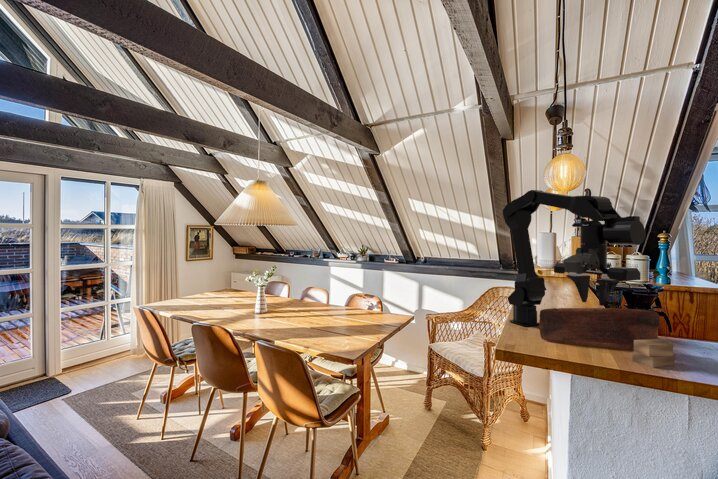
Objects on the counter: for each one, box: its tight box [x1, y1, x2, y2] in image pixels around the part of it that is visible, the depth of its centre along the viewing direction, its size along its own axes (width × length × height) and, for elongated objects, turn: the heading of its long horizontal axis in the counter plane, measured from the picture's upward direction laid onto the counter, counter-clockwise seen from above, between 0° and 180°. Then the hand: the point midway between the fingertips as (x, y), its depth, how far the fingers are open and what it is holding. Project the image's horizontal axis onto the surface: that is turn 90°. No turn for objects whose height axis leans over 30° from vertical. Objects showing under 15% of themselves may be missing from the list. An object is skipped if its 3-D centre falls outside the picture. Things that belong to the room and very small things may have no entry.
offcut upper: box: [633, 339, 674, 357], centre depth 73 cm, size 4×6×2 cm, turn 97°
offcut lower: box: [632, 351, 676, 369], centre depth 73 cm, size 4×7×2 cm, turn 108°
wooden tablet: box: [538, 307, 661, 351], centre depth 85 cm, size 26×2×10 cm, turn 72°
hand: (592, 303), depth 86 cm, fingers open, 4 cm apart
